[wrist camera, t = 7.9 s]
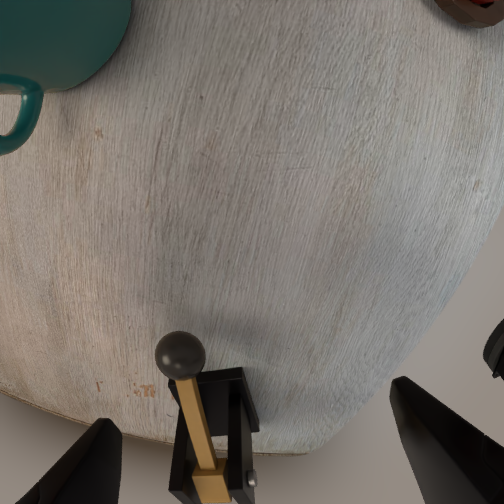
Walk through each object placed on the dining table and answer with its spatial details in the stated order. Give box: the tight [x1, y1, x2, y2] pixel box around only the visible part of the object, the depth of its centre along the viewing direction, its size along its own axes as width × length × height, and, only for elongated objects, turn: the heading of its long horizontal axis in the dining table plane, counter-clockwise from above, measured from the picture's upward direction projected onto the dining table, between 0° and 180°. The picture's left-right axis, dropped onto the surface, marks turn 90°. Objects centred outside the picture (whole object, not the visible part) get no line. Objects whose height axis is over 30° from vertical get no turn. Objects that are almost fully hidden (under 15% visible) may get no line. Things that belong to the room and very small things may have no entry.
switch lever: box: [155, 331, 232, 503], centre depth 18 cm, size 13×3×3 cm, turn 11°
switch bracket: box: [168, 367, 260, 504], centre depth 21 cm, size 8×6×10 cm
